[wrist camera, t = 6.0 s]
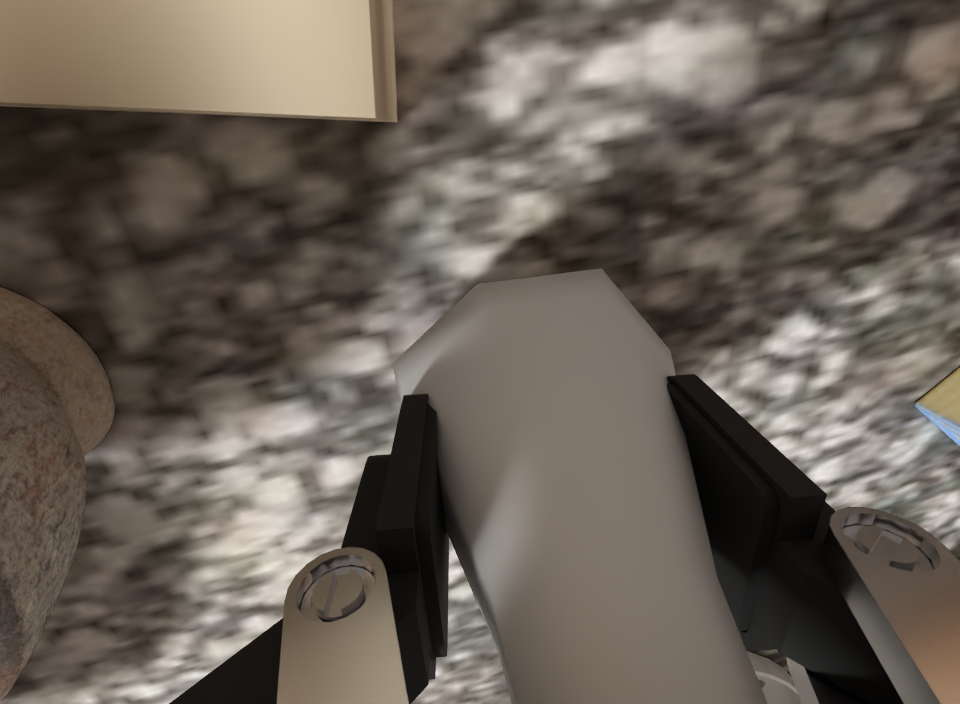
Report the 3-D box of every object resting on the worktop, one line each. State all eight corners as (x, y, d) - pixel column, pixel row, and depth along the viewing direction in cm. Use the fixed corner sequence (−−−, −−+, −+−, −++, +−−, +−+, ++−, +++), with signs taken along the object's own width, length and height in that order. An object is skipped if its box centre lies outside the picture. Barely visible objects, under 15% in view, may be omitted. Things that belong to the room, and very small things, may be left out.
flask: (469, 540, 14) (498, 1295, 5) (342, 343, 11) (-188, 1233, 2) (699, 450, 13) (1291, 1169, 4) (622, 212, 10) (2113, 712, 1)
